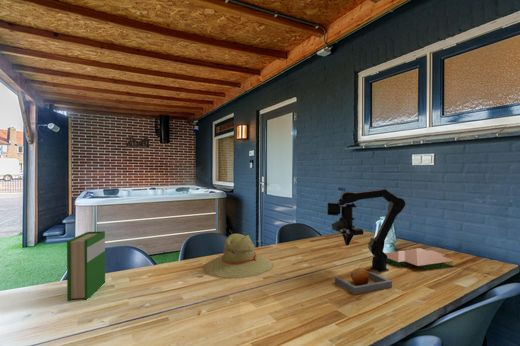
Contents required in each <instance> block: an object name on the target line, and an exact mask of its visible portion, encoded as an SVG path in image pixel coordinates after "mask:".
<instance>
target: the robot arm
mask: <svg viewBox="0 0 520 346" xmlns="http://www.w3.org/2000/svg"><path fill="white" fill-rule="evenodd" d="M376 198H383V199H384V200H385V201H386V202H388V207H387V213H386V215H385V217H384V220H383V221H382V223H381V225H380V228H379V230H378V232H377V233H376V235H375V237H370V240H369V242H367V245H368V246H367V249H368V250H369V252H370V253H371V254H372V255H373V256H372V260H371V265H372V266H370V269H371V270H374V271H376V272H379V273H380V272H386V271H390V269H389V268H387V261H388V259H387V257H388V256H387V255H386V254H385V253H386V252H384V250H385V249H384V248H385V243H386V239H387V236H388V234H389V232H390V230H391V228H392V226H393V224H394V222H395V219H396V218H397V217H398V215H399V214H401V212H403V210H404V208H405V206H406V201H405V200H404V198H401V197H397V196H396V195H394V194H392V193H391V192H389V190H388V189H385V188H381V189H375V190H368V191H367V190H366V191H359V192H357V191H356V192H355V191H344V192H342V193H341V195H340V198H339V200H337V202H327V204H326V215H327V216H333V217H334V216H339V215H340V214H341V216H340V217H339V220H338V221H334V222H333V223H331V229H332V231H336V232H338V233H340V234H341V236H342V237H343V241H344V243H345V246H349V244H351V241H352V240H353V237H354V236H362V235H364V230H363V228H360V227H355V225H353V224H354V223H353V222H354V221H355V217H354V214H353V211H354V209H353V208H355V209H356V208H357V207H358V206H357V205H356V204H355V203H354V202H357V201H361V200H367V199H376Z"/></svg>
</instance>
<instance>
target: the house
mask: <svg viewBox="0 0 520 346" xmlns="http://www.w3.org/2000/svg"><path fill="white" fill-rule="evenodd" d="M384 253H385V254H386V255H387V256H388V257H387V262H389V264H392V265H393V263H394V262H395V263H396V266H398V267H400V263H403V266H407V265H408V264H410V266H413V265H414V266H415V267H419V268H421V269H422V267H423V269H424V270H427V266H428V270H430V269H431V268H432V265H434V269H437V268H439V267H440V268H443V266H445V265H447V267H452V266H451V265H453V262H455V261H456V260H455V259H451V258H449V257H446V254H443V253H440V252H438V251H435V250H432V249H430V250H427V249H424V248H421V247H420V248H411V249H407V250H397V251H392V252H384ZM453 266H454V265H453Z"/></svg>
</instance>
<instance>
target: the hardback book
mask: <svg viewBox="0 0 520 346" xmlns="http://www.w3.org/2000/svg"><path fill="white" fill-rule="evenodd" d="M66 277H67V280H66V283H67V284H66V285H67V286H66V291H67V292H66V294H67V296H66V297H67V299H66V300H67V301H66V302H70V300H71V299H72V300H73V299H84V300H85V301H88V300H89V299H90V298H91V297H92V296H93V295H94V294H96V293H97V292H98V291H99V290H100V289H101V288H102V287H103V286H104V285H105V284H104V283H106V233H105V230H104V231H103V230H102V231H97V230H96V231H86V232H84V233H82V234H80V235H78V236H75V237H71V239H70V238H69V239H68V240H66ZM103 284H104V285H103ZM102 285H103V286H102ZM101 286H102V287H101ZM100 287H101V288H100ZM88 298H89V299H88ZM87 299H88V300H87ZM72 300H71V301H72Z"/></svg>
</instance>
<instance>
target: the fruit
mask: <svg viewBox="0 0 520 346" xmlns="http://www.w3.org/2000/svg"><path fill="white" fill-rule="evenodd" d="M368 272H369V271H368V270H367V269H366V268H364V267H358V268H355V269H354V270H352V271H351V273H350V278H351V280H352V282H353V283H354V284H356V286H360V285H366V284H369V281H370V279H371V278H370V276H369V273H368Z"/></svg>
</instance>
